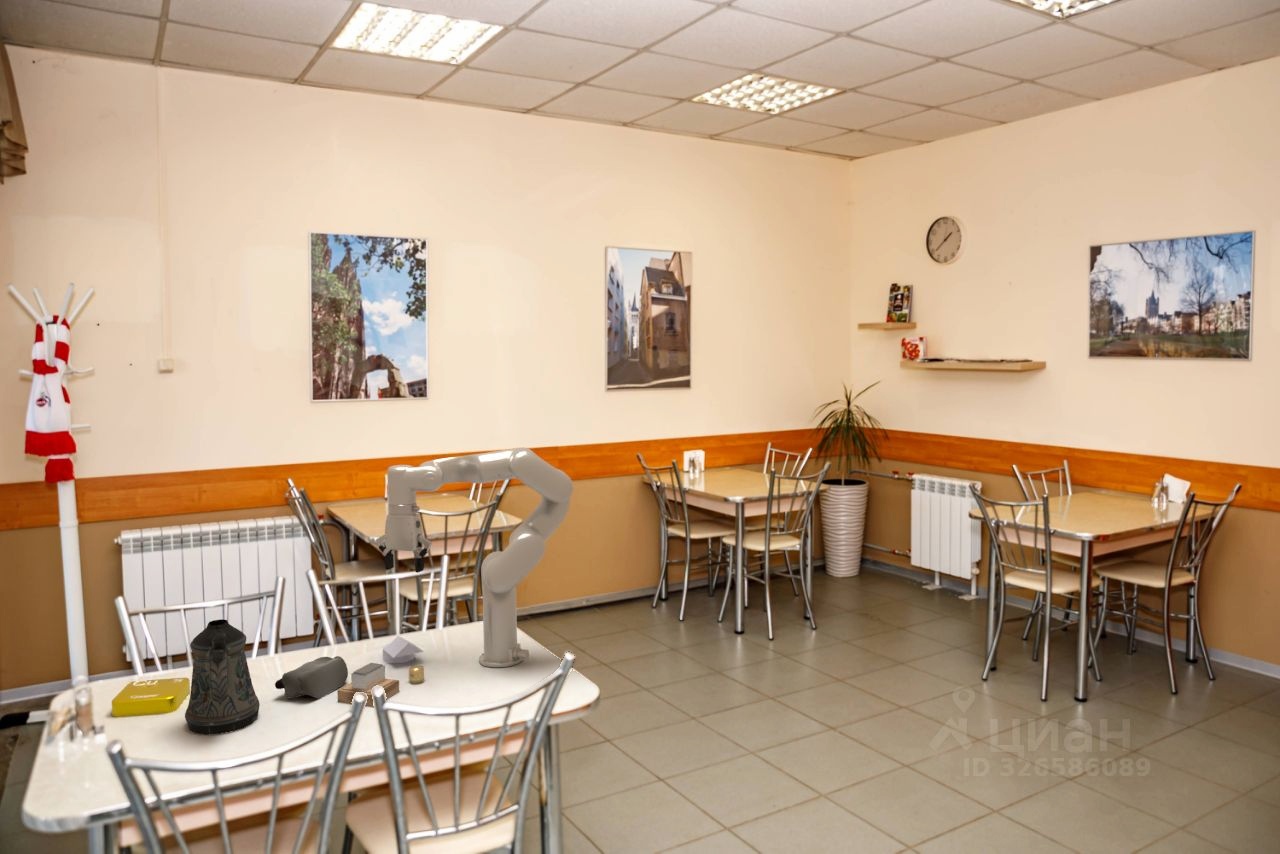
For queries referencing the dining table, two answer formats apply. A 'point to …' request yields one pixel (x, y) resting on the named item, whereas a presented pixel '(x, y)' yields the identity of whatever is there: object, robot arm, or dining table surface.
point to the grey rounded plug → (314, 678)
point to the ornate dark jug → (220, 682)
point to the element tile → (151, 697)
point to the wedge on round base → (400, 651)
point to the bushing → (416, 674)
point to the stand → (368, 691)
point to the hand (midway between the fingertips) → (404, 570)
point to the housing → (368, 676)
